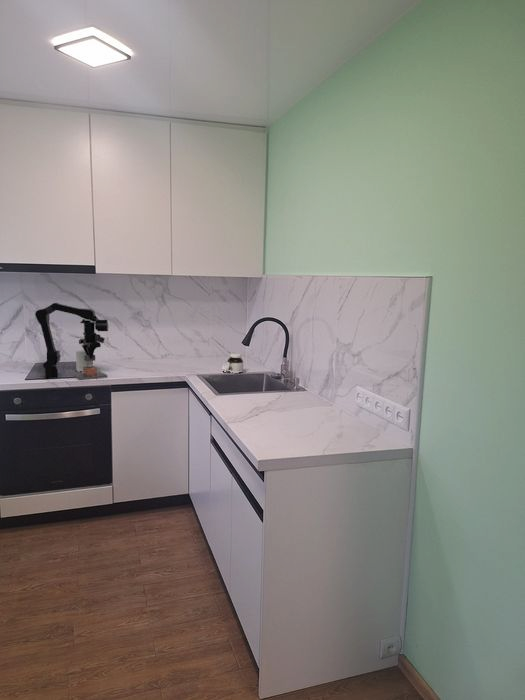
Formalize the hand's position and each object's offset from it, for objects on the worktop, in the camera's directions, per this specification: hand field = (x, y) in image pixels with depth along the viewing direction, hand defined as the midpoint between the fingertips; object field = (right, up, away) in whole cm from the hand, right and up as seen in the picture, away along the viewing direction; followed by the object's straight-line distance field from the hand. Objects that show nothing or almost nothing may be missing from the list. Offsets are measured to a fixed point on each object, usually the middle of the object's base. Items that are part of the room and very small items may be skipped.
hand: (89, 357), depth 279 cm
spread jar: (+81, -10, +29) cm, 87 cm away
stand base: (0, -11, +2) cm, 12 cm away
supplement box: (-10, -9, +20) cm, 24 cm away
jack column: (0, -6, +1) cm, 6 cm away
